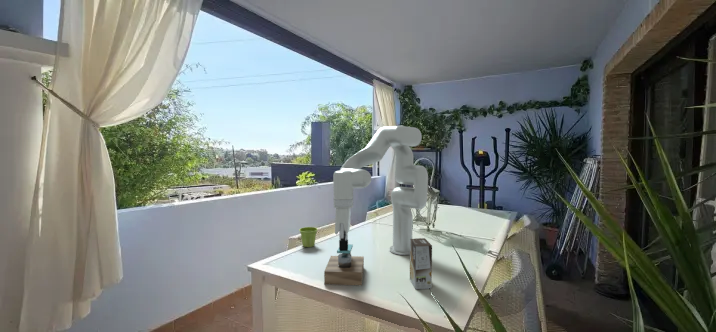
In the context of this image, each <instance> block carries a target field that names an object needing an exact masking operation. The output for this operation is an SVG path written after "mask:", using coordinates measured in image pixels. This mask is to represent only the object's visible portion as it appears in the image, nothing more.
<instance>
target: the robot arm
mask: <svg viewBox="0 0 716 332" xmlns="http://www.w3.org/2000/svg"><path fill="white" fill-rule="evenodd" d="M422 137H423V135H422V133H421V131H420V129H419V128H417V127H413V126H404V125H390V126H389V125H388V126H386V125H385V126H382V127H379V129H378V130H376V132H375V133H374V134H373V136H372V137H371V139H370V140H369V142H368V143H367V145H366V146H365V147H364V148H363V149H361V150H359V151H358V152H356V153H355V154H353V155H351V156H350V157H349V158H348V159H347V160H346V161H345V162H344V163H343V164H342V166H341V167H340V168H339V170H336V171H334V172H333V177H332V178H333V179H332V180H333V181H332V183H333V187H332V188H333V208H334V209H335V216H334V217H335V218H334V234H335V235H339V238H338V239H339V240H338V244H339V246H338V248H339V250H340V251H347V250H348V244H349V239H348V238H349V237H348V235H349V232H350V230H351V229H350V228H351V209H352V208H354V189H365V188H367V187H368V186H370V184H371V182H372V175H371V173H370V172H369V171H368V170H366V169H362V168H364V167H366V166H370V165H374V164H376V163H378V162H380V161H382V159H383V158H384V157H385V155H386V153H387V152H388V150H389V149H390V148H392V150H393V151H394V154H395V166H394V167H395V170H394V179H395V182H396V183H397V184H400V185H401V184H402V185H409V186H414V187H408V186H406V187H405V186H397V187H394V188H393V189H392V191H391V192H390V200H391V201H390V202H391V206H392V245H391V246H390V247H389V252H391V253H392V254H394V255H398V256H399V255H400V256H410V239H413V213H412V210H411V209H416V210H422V209H424V208H425V207H426V205H427V203H428V190H429V189H428V188H429V187H428V186H429V183H428V182H429V175H428V174H429V172H428V170H427V168H426V167H425V166H423V165H419V164H418V165H416V164H414V153H413V150H412V147H417V146H418V145H420V144H421V141H422Z"/></svg>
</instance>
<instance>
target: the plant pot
mask: <svg viewBox="0 0 716 332" xmlns="http://www.w3.org/2000/svg"><path fill="white" fill-rule="evenodd" d="M318 230H319V229H318V228H317V227H313V226H303V227H301V228H299V230H298V231H299V232H300V237H301V243H302V244H301V245H302V247H303V246H304V247H303V248H313V247H314V246H315V243H316V237H317V236H316V235H317V232H318Z"/></svg>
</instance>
